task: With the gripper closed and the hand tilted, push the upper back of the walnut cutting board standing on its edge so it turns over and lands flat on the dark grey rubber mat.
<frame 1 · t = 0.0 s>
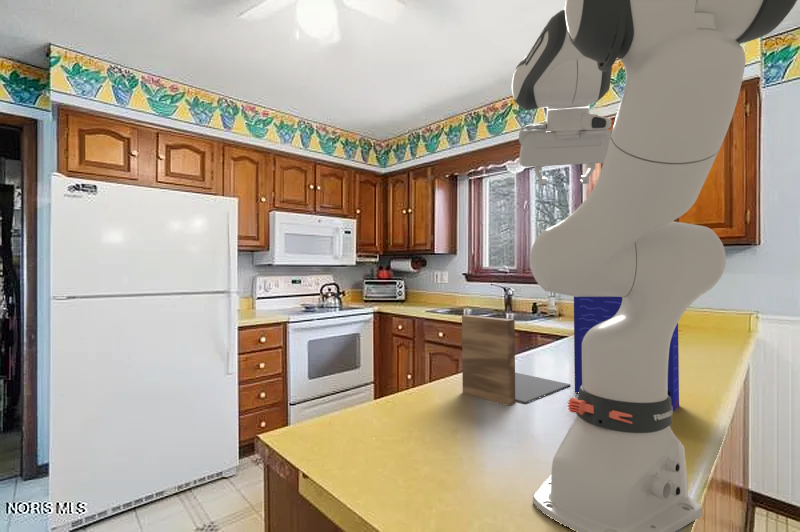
hand: (563, 184, 98), 52 cm above the counter, tool tilted 20°, fingers open, 8 cm apart
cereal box: (624, 399, 103), on the counter
board: (487, 397, 104), on the counter
mat: (518, 386, 113), on the counter
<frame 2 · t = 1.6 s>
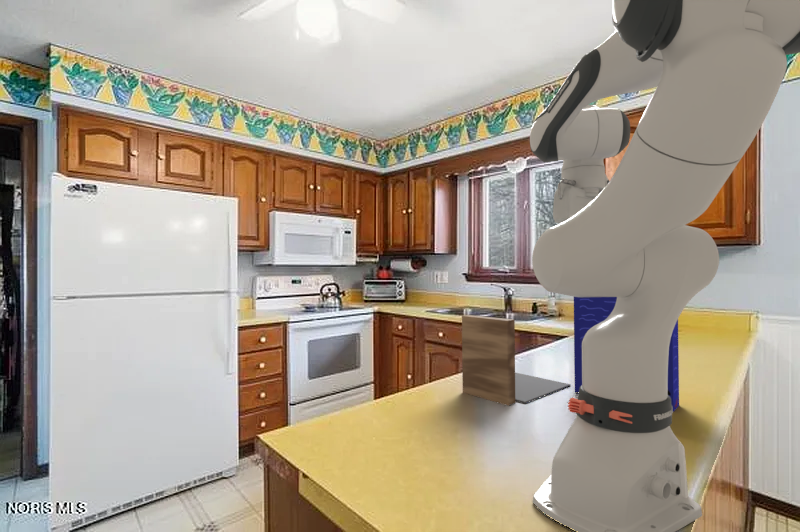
hand: (583, 246, 92), 37 cm above the counter, tool pointing down, fingers closed
nothing on the counter moved.
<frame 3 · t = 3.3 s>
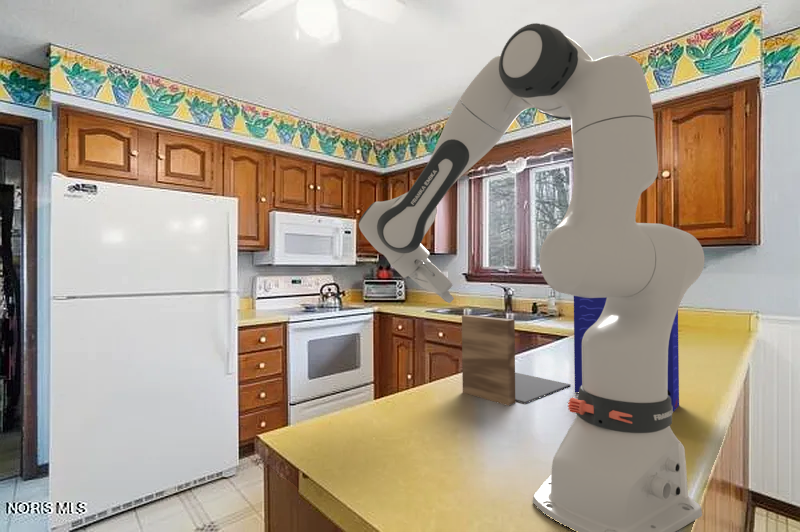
hand: (450, 300, 102), 25 cm above the counter, tool tilted 45°, fingers closed
nothing on the counter moved.
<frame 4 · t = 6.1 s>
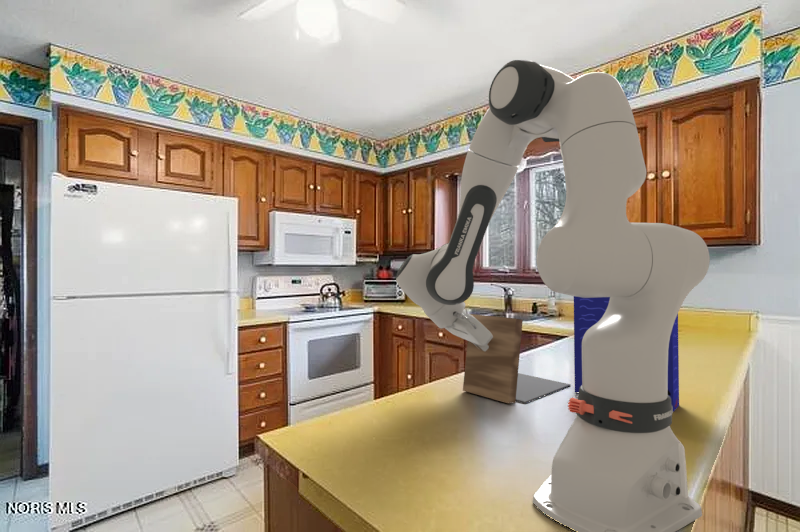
hand: (484, 348, 104), 12 cm above the counter, tool tilted 45°, fingers closed
board: (487, 396, 104), on the counter, tilted 10°
everything else where it was.
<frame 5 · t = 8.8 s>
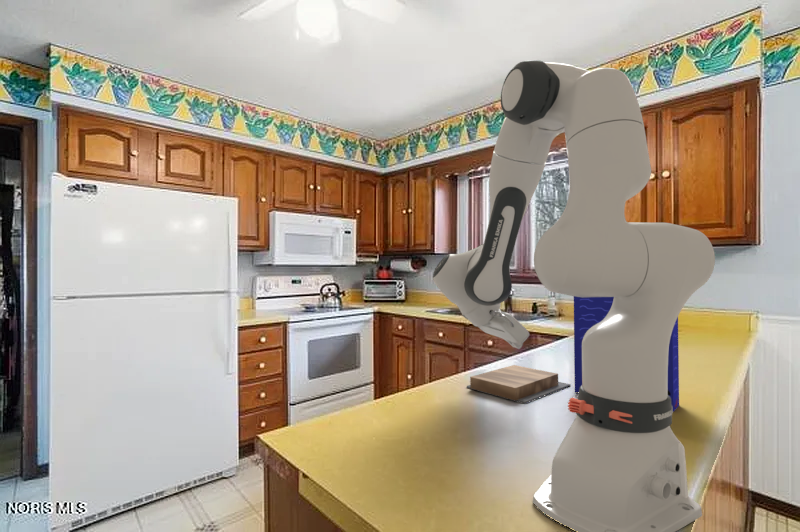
hand: (518, 346, 106), 12 cm above the counter, tool tilted 45°, fingers closed
board: (491, 388, 105), point 2 cm above the counter, tilted 90°, touching mat
everything else where it was.
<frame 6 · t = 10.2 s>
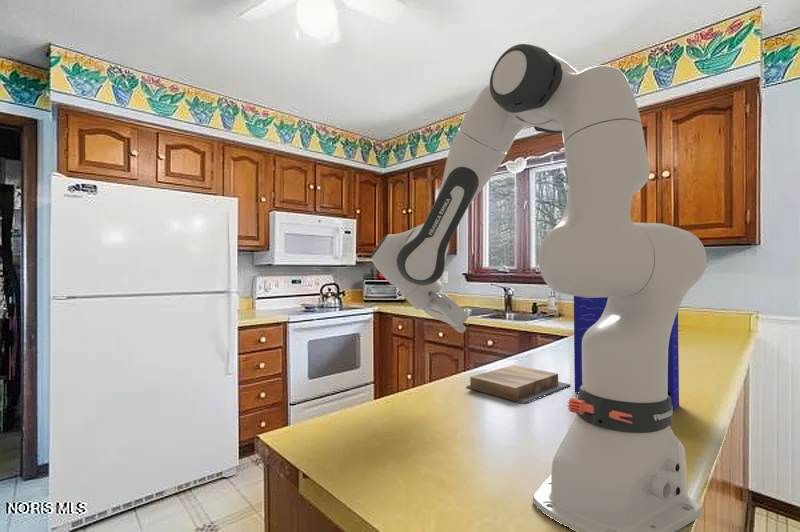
hand: (462, 330, 103), 17 cm above the counter, tool tilted 45°, fingers closed
nothing on the counter moved.
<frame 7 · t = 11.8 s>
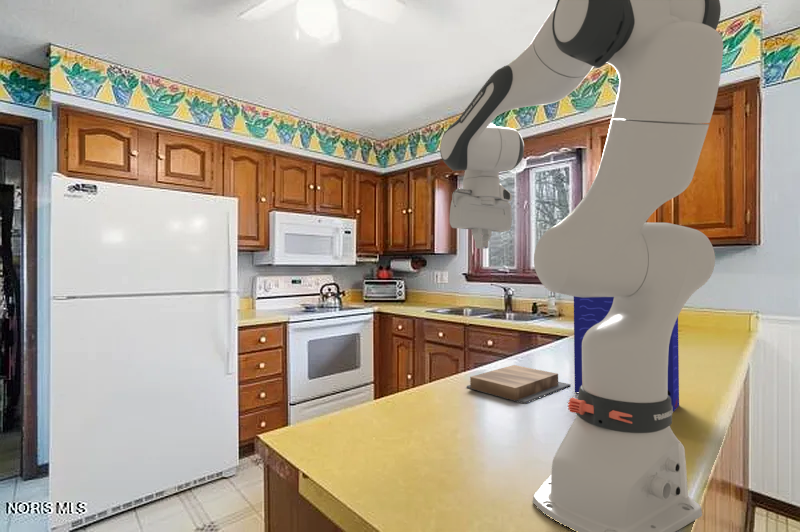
hand: (482, 248, 102), 37 cm above the counter, tool pointing down, fingers closed
nothing on the counter moved.
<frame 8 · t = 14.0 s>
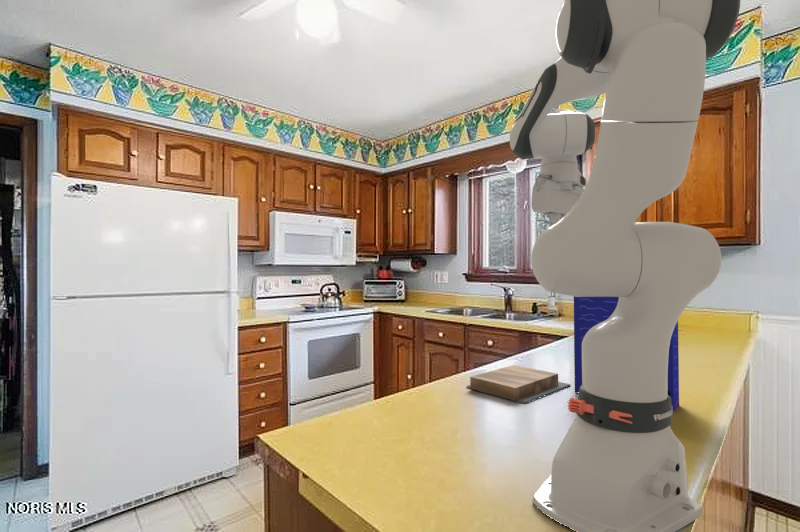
hand: (559, 232, 105), 41 cm above the counter, tool pointing down, fingers closed
nothing on the counter moved.
at the end: board tilted 90°; board inside the target area (6.4 cm from its centre), point 2.0 cm above the counter; board touching mat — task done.
